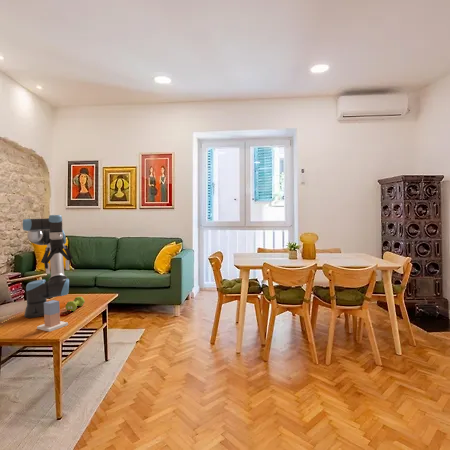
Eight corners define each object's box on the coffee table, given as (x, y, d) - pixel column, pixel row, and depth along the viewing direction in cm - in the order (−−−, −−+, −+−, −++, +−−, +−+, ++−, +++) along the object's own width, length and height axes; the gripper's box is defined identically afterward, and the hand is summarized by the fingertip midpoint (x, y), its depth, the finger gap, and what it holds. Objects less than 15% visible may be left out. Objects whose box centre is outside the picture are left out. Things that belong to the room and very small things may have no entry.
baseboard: (37, 328, 190) (36, 326, 189) (55, 322, 200) (55, 320, 200) (49, 331, 184) (49, 329, 184) (68, 325, 195) (68, 322, 194)
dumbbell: (75, 305, 238) (74, 296, 238) (85, 305, 238) (85, 295, 238) (64, 312, 222) (64, 302, 221) (75, 312, 222) (75, 301, 222)
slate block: (44, 314, 190) (43, 302, 190) (53, 311, 196) (53, 300, 195) (50, 315, 188) (49, 303, 187) (59, 312, 193) (59, 301, 193)
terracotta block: (44, 325, 190) (44, 314, 190) (54, 322, 196) (53, 311, 195) (50, 326, 188) (50, 315, 187) (60, 323, 193) (59, 312, 193)
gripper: (41, 240, 190) (42, 275, 190) (77, 237, 212) (78, 268, 212) (33, 240, 193) (35, 274, 194) (70, 237, 215) (71, 268, 216)
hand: (58, 271), depth 203 cm, fingers open, 13 cm apart
